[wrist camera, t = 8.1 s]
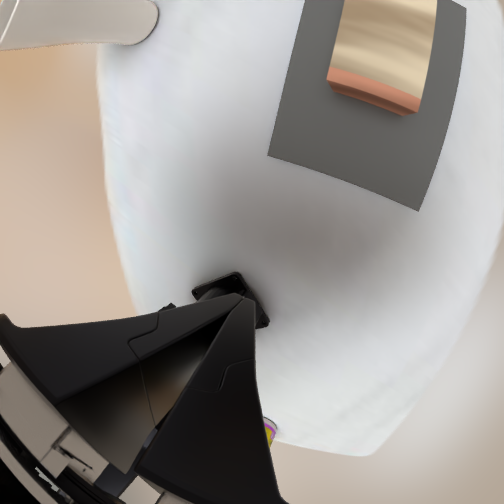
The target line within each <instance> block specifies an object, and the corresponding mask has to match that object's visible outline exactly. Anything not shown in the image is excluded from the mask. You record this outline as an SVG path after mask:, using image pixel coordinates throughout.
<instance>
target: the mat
mask: <svg viewBox="0 0 504 504" xmlns="http://www.w3.org/2000/svg"><path fill="white" fill-rule="evenodd" d="M344 2H345V0H305V3H304V7H303V11H302V15H301V19H300V23H299V27H298V31H297V35H296V39H295V43H294V47H293V51H292V55H291V59H290V63H289V67H288V71H287V76H286V80H285V84H284V88H283V92H282V96H281V100H280V105H279V109H278V113H277V117H276V121H275V126H274V130H273V134H272V138H271V142H270V147H269V151H268V155H267V156H271V157H274V158H277V159H281V160H284V161H287V162H291V163H294V164H297V165H300V166H303V167H306V168H309V169H312V170H315V171H318V172H321V173H324V174H327V175H330V176H333V177H335V178H338V179H341V180H344V181H346V182H349V183H352V184H354V185H357V186H360V187H362V188H365V189H367V190H370V191H372V192H375V193H377V194H380V195H382V196H384V197H387V198H389V199H391V200H394V201H396V202H398V203H401V204H403V205H405V206H407V207H410V208H412V209H414V210H416V211H418V212H419V209H420V207H421V205H422V202H423V200H424V197H425V195H426V192H427V189H428V187H429V184H430V181H431V179H432V176H433V173H434V170H435V167H436V165H437V162H438V159H439V156H440V152H441V149H442V146H443V143H444V139H445V136H446V132H447V129H448V125H449V121H450V118H451V114H452V110H453V105H454V101H455V96H456V92H457V87H458V82H459V76H460V70H461V64H462V57H463V49H464V40H465V28H466V8H465V7H463V6H461V5H459V4H457V3H456V2H454V1H452V0H437V9H436V19H435V28H434V35H433V42H432V49H431V55H430V60H429V66H428V71H427V76H426V80H425V85H424V89H423V94H422V98H421V102H420V106H419V110H418V113H414V114H409V115H404V116H401V115H398V114H396V113H394V112H391V111H389V110H386V109H384V108H381V107H378V106H376V105H373V104H370V103H367V102H365V101H362V100H359V99H356V98H353V97H350V96H347V95H343V94H340V93H337V92H334V91H333V90H332V88H331V86H330V85H329V83H328V82H327V80H326V79H327V75H328V71H329V67H330V63H331V58H332V54H333V50H334V46H335V42H336V37H337V33H338V29H339V24H340V20H341V15H342V11H343V6H344Z"/></svg>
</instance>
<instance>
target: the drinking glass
mask: <svg viewBox="0 0 504 504" xmlns="http://www.w3.org/2000/svg"><path fill="white" fill-rule="evenodd" d="M157 18H158V10H157V7H156V5H155V4H154V3H153V2H152V1H150V0H2V2H1V4H0V51H9V50H20V49H31V48H40V47H49V46H58V45H69V44H88V43H112V44H122V45H133V44H136V43H138V42H140V41H142V40H143V39H145V38H146V37H147V36H148V35H149V34H150V32H151V31H152V30H153V28H154V26H155V24H156V21H157Z"/></svg>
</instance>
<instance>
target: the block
mask: <svg viewBox="0 0 504 504" xmlns="http://www.w3.org/2000/svg"><path fill="white" fill-rule="evenodd" d="M436 9H437V0H345V2H344V6H343V11H342V15H341V20H340V24H339V29H338V33H337V37H336V42H335V46H334V50H333V54H332V58H331V63H330V67H329V71H328V75H327V79H326V80H327V82H328V83H329V85H330V86H331V88H332V90H333V91H334V92H337V93H340V94H343V95H347V96H350V97H353V98H356V99H359V100H362V101H365V102H367V103H370V104H373V105H376V106H378V107H381V108H384V109H386V110H389V111H391V112H394V113H396V114H398V115H401V116H404V115H409V114H414V113H418V110H419V106H420V102H421V98H422V94H423V89H424V85H425V80H426V76H427V71H428V66H429V60H430V55H431V49H432V42H433V35H434V28H435V19H436Z"/></svg>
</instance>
